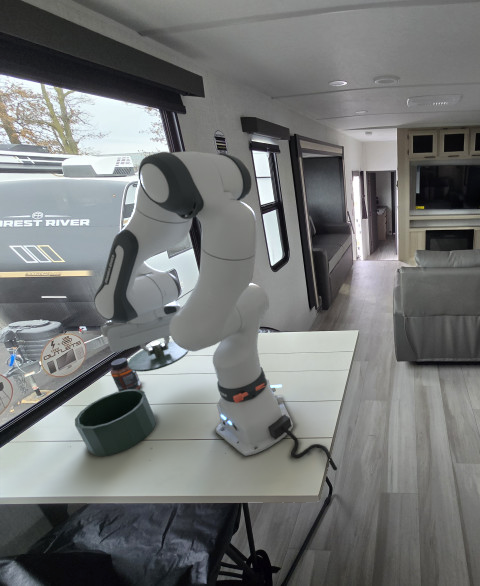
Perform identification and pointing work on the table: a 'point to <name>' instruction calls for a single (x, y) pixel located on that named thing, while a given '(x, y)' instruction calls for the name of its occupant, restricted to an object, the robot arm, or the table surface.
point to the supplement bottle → (124, 375)
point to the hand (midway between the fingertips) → (158, 351)
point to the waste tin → (115, 422)
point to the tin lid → (156, 357)
